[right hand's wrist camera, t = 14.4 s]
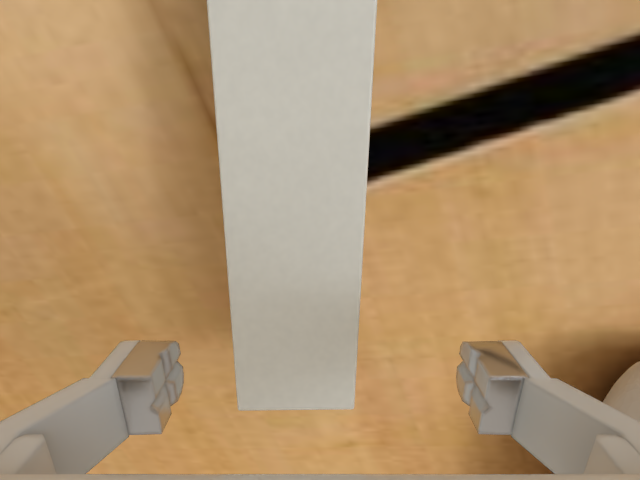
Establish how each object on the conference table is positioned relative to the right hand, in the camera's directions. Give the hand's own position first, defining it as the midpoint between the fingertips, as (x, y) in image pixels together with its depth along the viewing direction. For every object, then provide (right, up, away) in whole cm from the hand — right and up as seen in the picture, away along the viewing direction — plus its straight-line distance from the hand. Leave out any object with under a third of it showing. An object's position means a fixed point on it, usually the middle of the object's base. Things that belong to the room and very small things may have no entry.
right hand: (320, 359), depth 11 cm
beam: (-1, +29, -1) cm, 29 cm away
